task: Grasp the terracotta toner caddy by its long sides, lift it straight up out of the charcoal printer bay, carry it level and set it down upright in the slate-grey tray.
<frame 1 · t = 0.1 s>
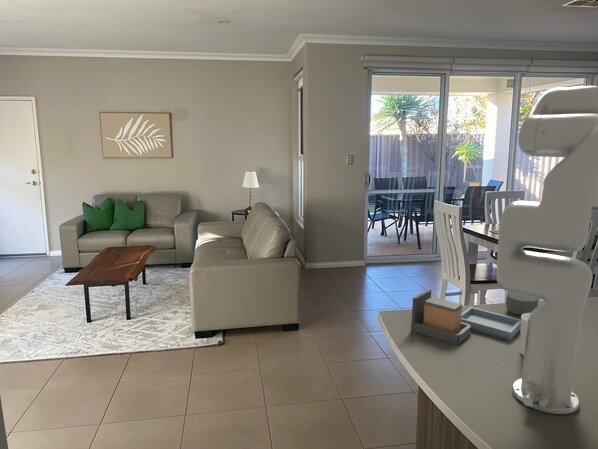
hand: (597, 227, 123), 31 cm above the kitchen island, tool pointing down, fingers open, 9 cm apart
tray: (488, 326, 133), on the kitchen island
white cup: (534, 355, 115), on the kitchen island
toner caddy: (441, 332, 129), resting in printer bay
printer bay: (441, 331, 129), on the kitchen island
smart speaker: (520, 313, 143), on the kitchen island
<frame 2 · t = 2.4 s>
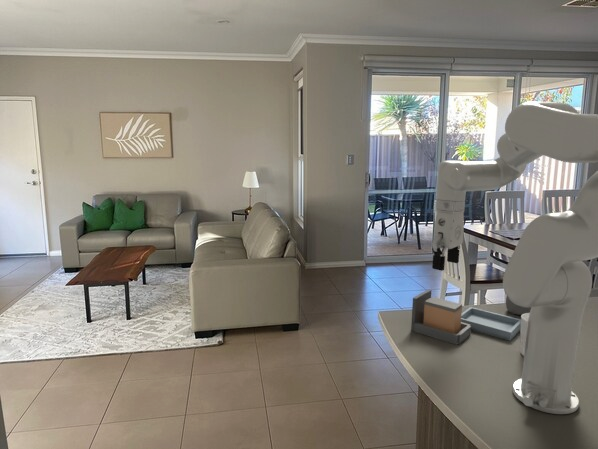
hand: (445, 265, 125), 20 cm above the kitchen island, tool pointing down, fingers open, 9 cm apart
nothing on the kitchen island moved.
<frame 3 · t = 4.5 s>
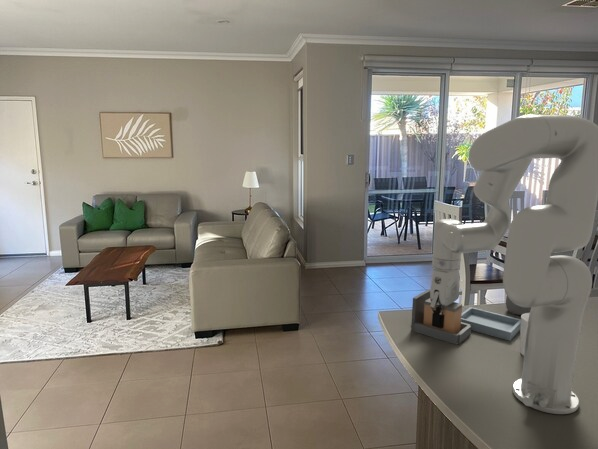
hand: (441, 323, 128), 3 cm above the kitchen island, tool pointing down, fingers closed on toner caddy, 5 cm apart
toner caddy: (441, 331, 129), resting in printer bay, touching gripper
everything else where it was.
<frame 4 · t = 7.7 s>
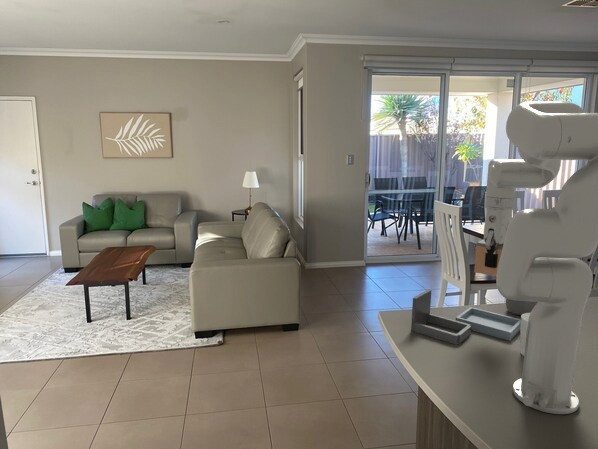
hand: (493, 264, 129), 19 cm above the kitchen island, tool pointing down, fingers closed on toner caddy, 5 cm apart
toner caddy: (492, 273, 129), point 17 cm above the kitchen island, touching gripper
everything else where it was.
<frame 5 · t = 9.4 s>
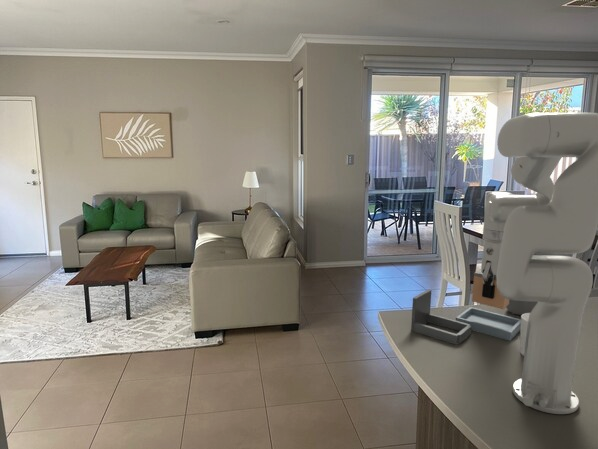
hand: (491, 294, 131), 10 cm above the kitchen island, tool pointing down, fingers closed on toner caddy, 5 cm apart
toner caddy: (490, 302, 131), point 7 cm above the kitchen island, touching gripper
everything else where it was.
when the fingers open (5 cm above the kitchen island, at t = 10.8 s): toner caddy drops 1 cm, resting on tray.
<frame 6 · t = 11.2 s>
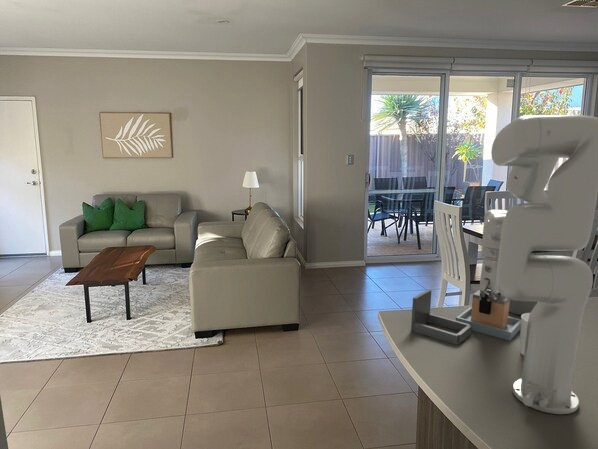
hand: (490, 308, 131), 6 cm above the kitchen island, tool pointing down, fingers open, 9 cm apart
toner caddy: (488, 324, 132), point 1 cm above the kitchen island, touching tray
everything else where it was.
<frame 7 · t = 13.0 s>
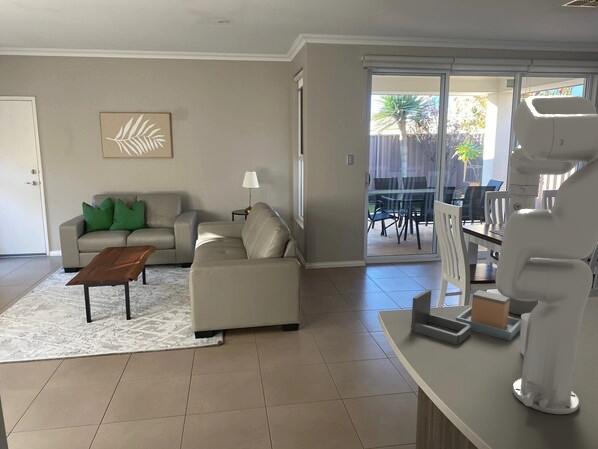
hand: (517, 251, 126), 24 cm above the kitchen island, tool pointing down, fingers open, 9 cm apart
nothing on the kitchen island moved.
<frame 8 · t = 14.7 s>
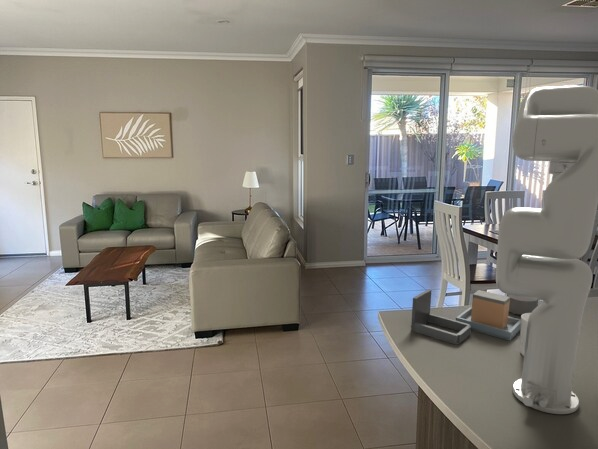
hand: (557, 231, 122), 30 cm above the kitchen island, tool pointing down, fingers open, 9 cm apart
nothing on the kitchen island moved.
at the end: toner caddy inside the target area on the tray (0.1 cm from its centre), point 0.8 cm above the tray's base; toner caddy tilted 0°; the gripper is holding nothing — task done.
